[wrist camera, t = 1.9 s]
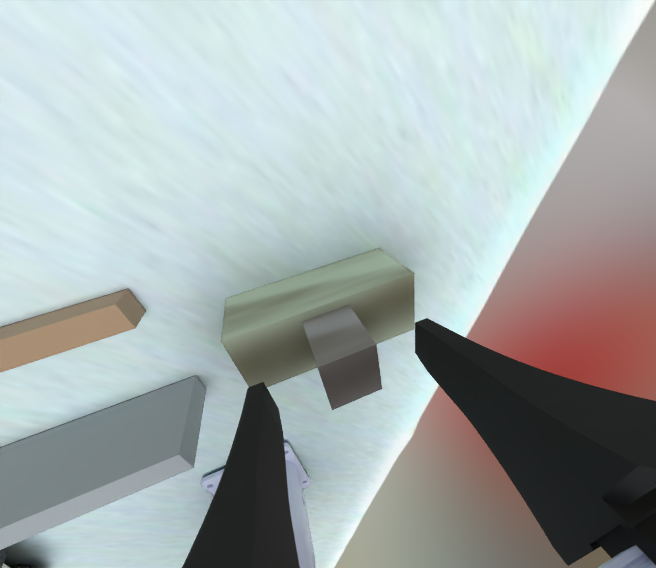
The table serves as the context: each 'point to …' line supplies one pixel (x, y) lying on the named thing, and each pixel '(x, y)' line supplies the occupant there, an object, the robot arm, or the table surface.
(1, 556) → the toy excavator
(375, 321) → the beige block with knob
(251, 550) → the robot arm
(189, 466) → the grey and tan bars
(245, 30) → the table surface
